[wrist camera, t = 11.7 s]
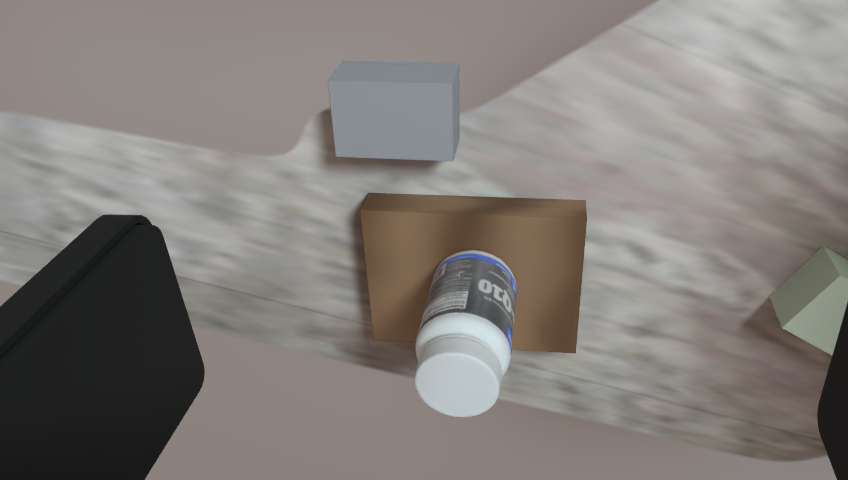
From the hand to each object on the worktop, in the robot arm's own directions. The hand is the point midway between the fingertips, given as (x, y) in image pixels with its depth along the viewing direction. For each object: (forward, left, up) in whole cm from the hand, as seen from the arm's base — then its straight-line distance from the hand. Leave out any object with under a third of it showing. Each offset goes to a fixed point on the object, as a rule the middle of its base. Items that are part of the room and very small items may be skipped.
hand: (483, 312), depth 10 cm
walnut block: (+3, +17, -27) cm, 32 cm away
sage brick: (-17, +18, -27) cm, 37 cm away
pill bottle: (+3, +17, -25) cm, 31 cm away
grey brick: (+7, +7, -27) cm, 29 cm away
